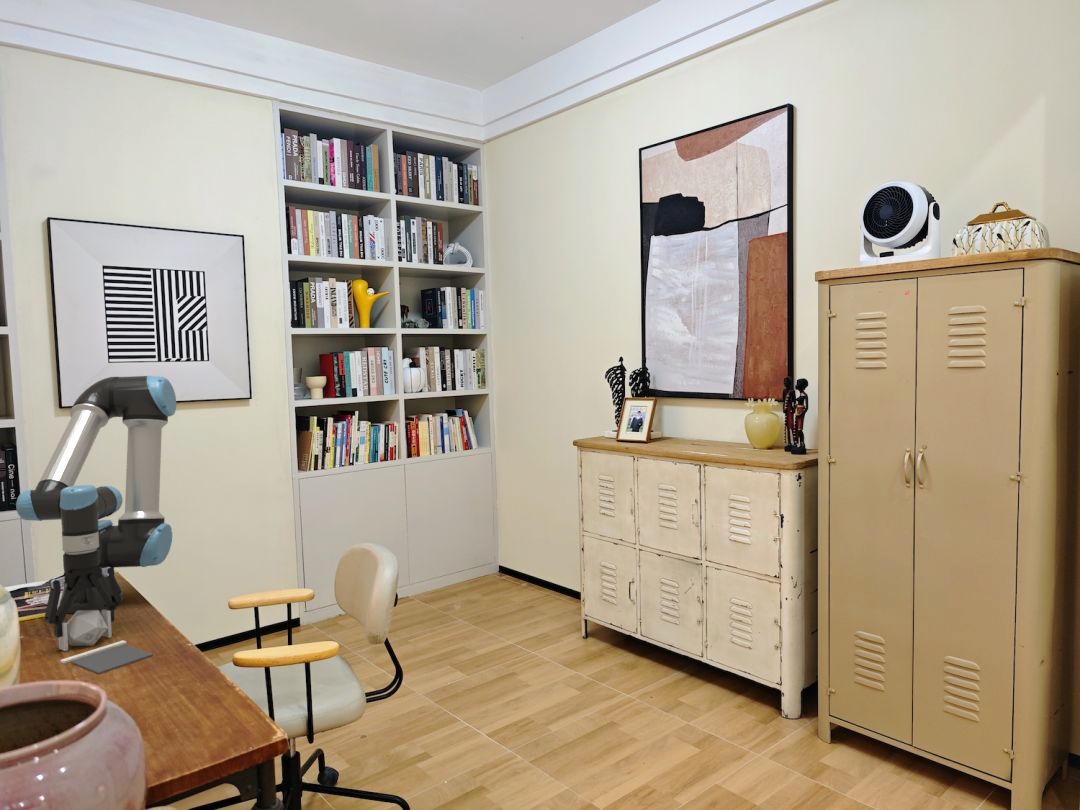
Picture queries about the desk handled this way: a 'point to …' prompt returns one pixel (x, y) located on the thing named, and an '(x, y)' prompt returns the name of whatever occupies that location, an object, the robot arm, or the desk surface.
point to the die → (85, 628)
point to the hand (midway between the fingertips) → (85, 642)
